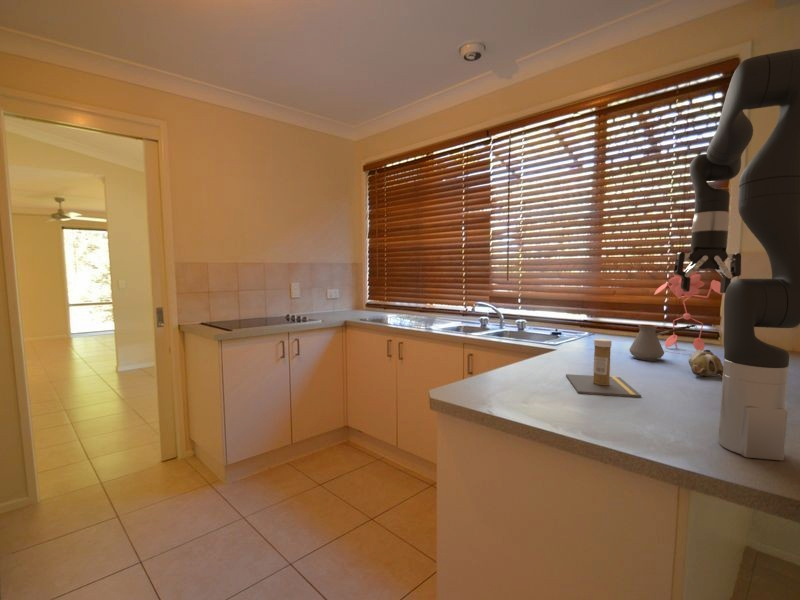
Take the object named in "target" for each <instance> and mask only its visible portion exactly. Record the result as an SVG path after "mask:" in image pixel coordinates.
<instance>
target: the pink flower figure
mask: <svg viewBox="0 0 800 600" xmlns="http://www.w3.org/2000/svg"><path fill="white" fill-rule="evenodd" d="M685 270H686V268H684V267H683V271H685ZM672 273H673V276H674V277H670V278H669V279H668V282H666V283H663V284H662V285H660V286H659V287H658V288H657V289H656V290H655V292H654V294H653V295H654V296H656V295H658V294H659V293H661V292H663V291H664V290H665V289H666V288H667V287H668V288H669V289H670V291H671V292H672V293H673V294H674V295H675V297H676V298H677V299H682V298H683V299H684V298H685V299H684V300H683V301H682V304H683V308H684V312H685V313H683V316H682V317H678V318H676V319H674V320H673V321H672V325H673V326H672V327H673V328H672V329H675V321H677V320H680V319H684V320H690V319H691V320H693V321H694V322H697V323H700V324H701V327H700V333H699V335H698V337H696V338H695V339H694V340H693V344H692V345H693V348H694V349H695V350H696V351H698V350H699V349H701V350H702V351H703V350H705V346H706V344H705V342H704V340H703V339H702V338H701V335H702V331H703V326H704V323H703V322H701V321H699V320H697V319H694V318H693V317H692V315H691V313H688V311H687V306H686V303H685V302H686V301H688V300H689V299H690V298H691V299H692V297H697V298H705V299H709V297H710V294H711V292H712V290H713V291H714V292H715V293H717V294H719V295H723V293H720V286H721V281H718V280H715V279H713V280H712V281H711V282H710V287H709V290H708V292H707V296H705V295H698V294H700V288H702V287H704V286H705V282H703V281H702V280H701V279H702V274H700V273H698V274H697V270H696V271H694V272H693V273H692V274H691V275H690V276H689V278H690V290H689V292H686V291H683V289H681V279H682V278H681V276H679V275H675V274H674V271H673V272H672ZM669 283H670V284H671V285H670V284H669ZM682 295H683V296H682ZM672 333H673V334H671V335H670V336H669V337H668V338H666V340H665V342H664V348H665V349H667V348H669V347H671V346H673V345H675V349H677V348H678V345H677V340H678V339H679V338H678V335H677V334H675V332H672ZM665 352H668V353H669V351H668V350H665ZM670 353H672V354H674V351H673V352H671V351H670ZM676 354H678V355H679V354H680V353H679V352H678V353H677V352H676ZM683 355H686V356H689V354H687V353H683Z"/></svg>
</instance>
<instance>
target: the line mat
mask: <svg viewBox="0 0 800 600" xmlns="http://www.w3.org/2000/svg"><path fill="white" fill-rule="evenodd" d="M565 377H566V378H567V379H568V382H570V384H571V385H572V387H573V388H574V390H575V391H576V393H578V394H583V395H584V394H585V395H597V396H599V395H600V396H601V395H602V396H615V397H629V398H631V397H632V398H642V394H640V393H639V392H638V391H637V390H636V389H634V387H632V386H631V385H630V384H629V383H627V382H626V381H625V380H624V379H622V377H620V376H613V375H610V378H609V382H610V384H609V385H606V386H602V385H597V384H594V383H593V377H594V375H587V374H586V375H584V374H571V373H569V374H565Z"/></svg>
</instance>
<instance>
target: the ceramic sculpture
mask: <svg viewBox="0 0 800 600" xmlns="http://www.w3.org/2000/svg"><path fill="white" fill-rule="evenodd" d="M688 364H689V366H690V369H691V371H692V373H693V375H696V376H703V377H704V376H705V377H716V376H718V375H720V377H723V366H724V364H723V363H722V361H721V359H720V358H719V357H718V356H717V355H715V354H714V353H713V351H711V350H710V349H703V350H701V349H699V350H698V351H697V350H696V351H695V352H693V353H692V354H691V355H690V357H689V358H688Z"/></svg>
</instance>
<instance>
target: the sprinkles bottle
mask: <svg viewBox="0 0 800 600" xmlns="http://www.w3.org/2000/svg"><path fill="white" fill-rule="evenodd" d="M593 340H594V341H593V345H594V355H593V376H594V377H593V383H594V384H597V385H602V386H606V385H609V384H610V382H609V378H610V377H611V348H612V340H611V339H608V338H595V339H593Z"/></svg>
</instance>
